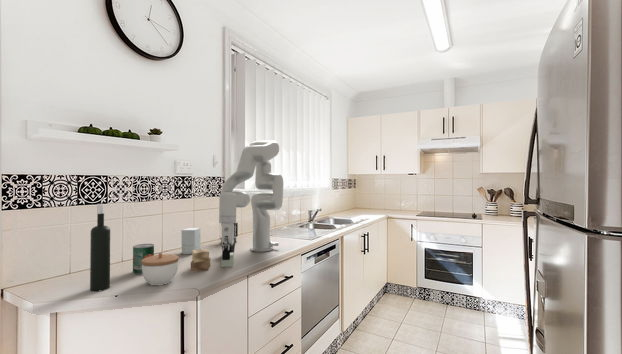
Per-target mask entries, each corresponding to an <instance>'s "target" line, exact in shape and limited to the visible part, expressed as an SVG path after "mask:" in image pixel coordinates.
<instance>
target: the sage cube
mask: <svg viewBox="0 0 622 354" xmlns="http://www.w3.org/2000/svg"><path fill="white" fill-rule="evenodd" d="M234 256H235V252H234V253H230V260H222V259H221V262H220V263H221V268H222V267H223V268H224V267H234V264H235V263H234V262H235V261H234V260H235V257H234Z"/></svg>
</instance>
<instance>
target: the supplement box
mask: <svg viewBox="0 0 622 354" xmlns="http://www.w3.org/2000/svg"><path fill="white" fill-rule="evenodd" d="M180 231H181V255H192V250H200V249H202V248H201V240H202V239H201V227H187V228H184V229H181V230H180Z"/></svg>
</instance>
